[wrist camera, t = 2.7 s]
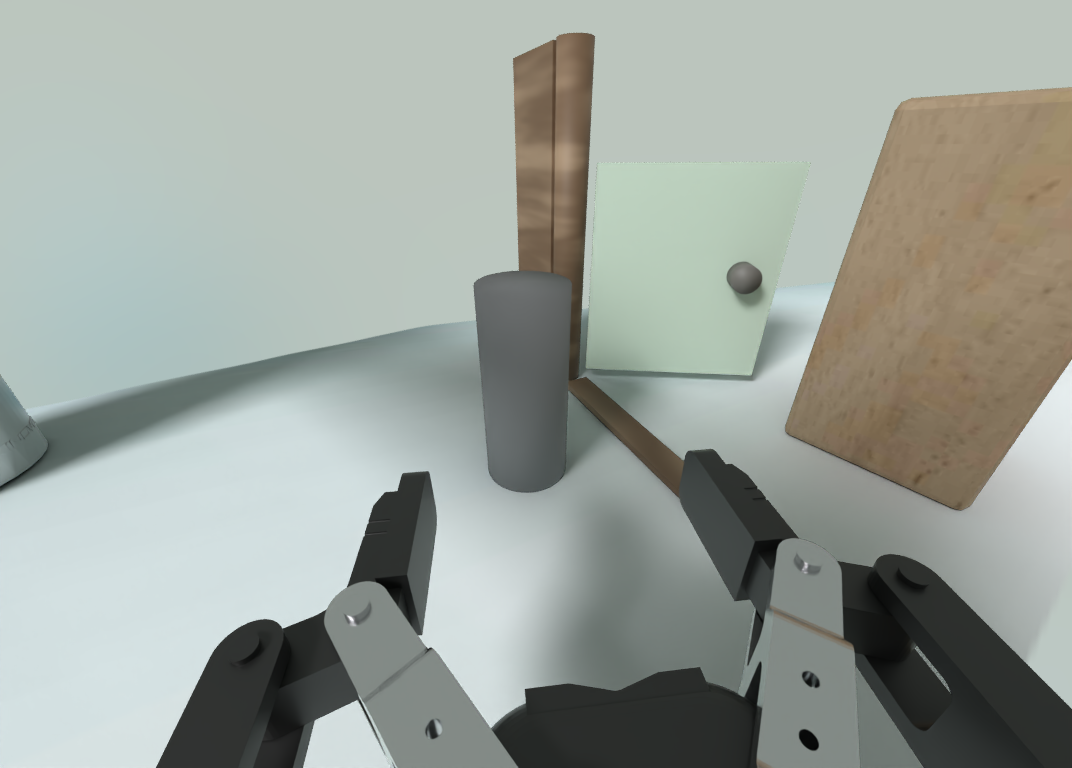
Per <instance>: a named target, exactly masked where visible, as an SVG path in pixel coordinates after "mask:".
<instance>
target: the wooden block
mask: <svg viewBox="0 0 1072 768" xmlns="http://www.w3.org/2000/svg"><path fill="white" fill-rule="evenodd" d="M1071 360H1072V87H1069V88H1054V89H1040V90H1025V91H1009V92H995V93H981V94H965V95H950V96H935V97H921V98H911V99H908V100H906V101H903V102H901V104H900V105H899V106H898V108H897V109H896V110H895V112H894V115H893V118H892V121H891V124H890V127H889V130H888V133H887V135H886V138H885V141H884V144H883V147H882V150H881V153H880V155H879V158H878V161H877V164H876V167H875V170H874V173H873V176H872V179H871V181H870V184H869V187H868V190H867V193H866V196H865V199H864V201H863V204H862V207H861V210H860V213H859V216H858V219H857V221H856V225H855V227H854V230H853V233H852V236H851V239H850V242H849V245H848V247H847V250H846V253H845V256H844V259H843V262H842V265H841V268H840V271H839V273H838V276H837V279H836V282H835V285H834V288H833V290H832V293H831V296H830V299H829V302H828V305H827V308H826V311H825V313H824V316H823V319H822V322H821V325H820V328H819V331H818V334H817V336H816V339H815V342H814V345H813V348H812V351H811V354H810V357H809V359H808V362H807V365H806V368H805V371H804V374H803V377H802V379H801V382H800V385H799V388H798V391H797V394H796V397H795V400H794V402H793V405H792V408H791V411H790V414H789V417H788V420H787V423H786V426H785V431H786V432H787V433H788V434H789V435H791V436H794V437H796V438H798V439H800V440H803V441H805V442H807V443H809V444H811V445H814V446H816V447H818V448H820V449H822V450H825V451H827V452H829V453H831V454H834V455H836V456H838V457H840V458H842V459H845V460H847V461H849V462H851V463H854V464H856V465H858V466H860V467H862V468H865V469H867V470H869V471H871V472H873V473H876V474H878V475H880V476H882V477H885V478H887V479H889V480H891V481H893V482H896V483H898V484H900V485H902V486H904V487H907V488H909V489H911V490H913V491H916V492H918V493H920V494H922V495H924V496H927V497H929V498H931V499H933V500H936V501H938V502H940V503H942V504H944V505H947V506H949V507H951V508H953V509H957V510H963V509H965V508H968V507H970V506H971V504H972V503H973V501H974V500H975V498H976V497H977V496H978V494H979V493H980V491H981V490H982V488H983V487H984V485H985V484H986V483H987V481H988V480H989V478H990V477H991V475H992V474H993V472H994V471H995V470H996V468H997V467H998V465H999V464H1000V462H1001V461H1002V459H1003V458H1004V457H1005V455H1006V454H1007V452H1008V451H1009V449H1010V448H1011V446H1012V445H1013V444H1014V442H1015V441H1016V439H1017V438H1018V436H1019V435H1020V433H1021V432H1022V431H1023V429H1024V428H1025V426H1026V425H1027V423H1028V422H1029V420H1030V419H1031V418H1032V416H1033V415H1034V413H1035V412H1036V410H1037V409H1038V407H1039V406H1040V405H1041V403H1042V402H1043V400H1044V399H1045V397H1046V396H1047V394H1048V393H1049V392H1050V390H1051V389H1052V387H1053V386H1054V384H1055V383H1056V381H1057V380H1058V379H1059V377H1060V376H1061V374H1062V373H1063V371H1064V370H1065V368H1066V367H1067V366H1068V364H1069V363H1070V361H1071Z"/></svg>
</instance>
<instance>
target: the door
mask: <svg viewBox="0 0 1072 768" xmlns="http://www.w3.org/2000/svg"><path fill="white" fill-rule="evenodd" d="M810 164H811V163H810V162H712V163H711V162H698V163H697V162H696V163H695V162H693V163H597V174H596V191H595V209H594V210H595V211H594V227H593V244H592V261H591V279H590V296H589V314H588V331H587V349H586V369H607V370H631V371H655V372H679V373H703V374H727V375H752V372H753V368H754V365H755V361H756V358H757V354H758V350H759V347H760V343H761V340H762V336H763V332H764V329H765V325H766V322H767V318H768V315H769V311H770V307H771V304H772V300H773V297H774V293H775V290H776V286H777V282H778V278H779V275H780V272H781V267H782V264H783V261H784V257H785V254H786V250H787V247H788V243H789V239H790V236H791V232H792V229H793V225H794V221H795V218H796V214H797V211H798V207H799V203H800V200H801V196H802V192H803V189H804V186H805V182H806V178H807V175H808V171H809V167H810Z"/></svg>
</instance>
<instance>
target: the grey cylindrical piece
mask: <svg viewBox="0 0 1072 768" xmlns="http://www.w3.org/2000/svg"><path fill="white" fill-rule="evenodd" d="M571 293H572V282H571V281H570V280H569V279H568V278H566V277H564V276H561V275H558V274H554V273H549V272H542V271H509V272H501V273H495V274H491V275H487V276H484V277H482V278H480V279H478V280H477V281H476V282H475V283H474V296H475V309H476V321H477V333H478V346H479V358H480V370H481V382H482V394H483V407H484V419H485V431H486V443H487V455H488V468H489V473H490V476H491V477H492V479H493V480H494V481H495V482H496V483H497V484H498V485H500V486H502V487H503V488H506V489H508V490H511V491H516V492H536V491H541V490H544V489H547V488H549V487H551V486H553V485H554V484H556V483H557V482H558V481H559V480H560V479H561V478H562V476H563V474H564V472H565V464H566V436H567V407H568V379H569V350H570V322H571Z"/></svg>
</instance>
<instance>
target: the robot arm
mask: <svg viewBox="0 0 1072 768" xmlns="http://www.w3.org/2000/svg"><path fill="white" fill-rule="evenodd" d="M47 446H48V442H47V440H46V438H45V437H44V436H43V434H42V433H41V431H40V430H39V429H38V427H37V426H36V424H35V421H34V420H33V419H32V417H31V416H29V415H28V413H27V412H26V411H25V409H24V408H23V406H22V405H21V404H20V402H19V401H18V399H17V398H16V396H15V395H14V393H13V392H12V390H11V389H10V388H9V386H8V385H7V383H6V382H5V381H4V379H3V378H2V377H1V375H0V486H1V485H3V484H4V483H6V482H8V481H10V480H11V479H13V478H15V477H17V476H18V475H19V474H21V473H22V472H24V471H25V470H27V469H28V468H29V467H31V466H32V465H33V464H34V463H35V462H37V461H38V460H39V459H40V458H41V457H42V456H43V454H44V453H45V451H46V450H47ZM679 497H680V501H681V505H682V507H683V509H684V511H685V513H686V514H687V516H688V518H689V520H690V522H691V523H692V525H693V527H694V529H695V531H696V532H697V534H698V536H699V538H700V540H701V541H702V543H703V545H704V547H705V549H706V550H707V552H708V554H709V556H710V558H711V559H712V561H713V563H714V565H715V567H716V568H717V570H718V572H719V574H720V576H721V577H722V579H723V581H724V583H725V585H726V586H727V588H728V590H729V592H730V594H731V595H732V597H733V599H734V601H741V600H751V601H752V603H753V605H754V607H755V609H754V611H753V615H752V621H751V627H750V633H749V639H748V645H747V651H746V657H745V663H744V669H743V675H742V679H741V683H740V687H739V690H738V694H737V693H735V692H734V691H731V690H729V689H727V688H724V687H722V686H719V685H715V684H712V683H708V682H706V681H705V678H704V676H703V673H702V671H701V669H700V667H697V668H689V669H681V670H673V671H665V672H658V673H656V674H654V675H651V676H649V677H647V678H645V679H643V680H641V681H639V682H636V683H634V684H632V685H630V686H628V687H626V688H624V689H622V690H618V691H611V690H605V689H599V688H593V687H587V686H581V685H575V684H561V685H553V686H545V687H537V688H529V689H525V697H526V704H523V705H521V706H519V707H517V708H515V709H514V710H512V711H511V712H509V713H508V714H506V715H505V716H504V717H503V718H501V719H500V720H499V721H498V722H497V723H496V724H495V725H494V726H493V727H492V728H490V727H489V725H488V724H487V723H486V721H485V720H484V718H483V717H482V715H481V714H480V713H479V711H478V710H477V708H476V707H475V706H474V704H473V703H472V701H471V700H470V698H469V697H468V696H467V694H466V693H465V691H464V690H463V689H462V687H461V686H460V684H459V683H458V681H457V680H456V679H455V677H454V676H453V674H452V673H451V672H450V670H449V669H448V667H447V666H446V664H445V663H444V662H443V660H442V659H441V657H440V656H439V655H438V654H437V652H436V651H435V650H434V649H433V648H429V649H428V648H427V647H426V646H425V645H424V644H423V642H422V641H421V639H420V638H419V637H418V635H422V633H423V625H424V618H425V610H426V603H427V595H428V588H429V580H430V573H431V565H432V558H433V550H434V543H435V535H436V527H437V515H436V506H435V501H434V495H433V490H432V484H431V478H430V474H429V472H428V471H425V472H413V473H403V474H402V476H401V480H400V484H399V488H398V491H395V492H385V493H384V494H383V495H382V496H381V498H380V499H379V500H378V501H377V502H376V503H375V505H374V506H373V509H372V512H371V515H370V518H369V524H367V528H366V531H365V536H364V537H363V540H362V543H361V546H360V549H359V552H358V556H357V559H356V562H355V565H354V568H353V571H352V574H351V577H350V581H349V583H348V586H347V588H346V589H344V590H343V591H341V592H340V593H339V594H338V595H337V596H336V597H335V598H334V599H333V600H332V601H331V603H330V604H329V606H328V608H327V609H326V610H325V611H323V612H322V613H320V614H318V615H316V616H314V617H311V618H309V619H306V620H304V621H301V622H299V623H296V624H293V625H291V626H288V627H286V628H283V629H282V627H281V626H280V625H279V624H278V623H277V622H275V621H273V620H267V619H263V620H256V621H253V622H250V623H247V624H245V625H243V626H241V627H239V628H238V629H236V630H235V631H233V632H232V633H231V634H229V635H228V636H227V637H226V638H225V639H224V640H223V641H222V642H221V643H220V644H219V645H218V646H217V647H216V649H215V650H214V652H213V653H212V655H211V657H210V659H209V661H208V663H207V665H206V667H205V669H204V671H203V673H202V675H201V677H200V679H199V681H198V683H197V685H196V687H195V689H194V691H193V693H192V695H191V697H190V699H189V701H188V704H187V706H186V708H185V710H184V712H183V714H182V716H181V718H180V720H179V722H178V724H177V726H176V728H175V730H174V732H173V734H172V736H171V738H170V740H169V742H168V744H167V746H166V748H165V750H164V752H163V755H162V757H161V759H160V761H159V763H158V765H157V767H156V768H303V765H304V761H305V757H306V753H307V749H308V745H309V741H310V737H311V733H312V729H313V725H314V721H315V720H316V719H318V718H320V717H322V716H325V715H327V714H329V713H331V712H333V711H335V710H337V709H339V708H341V707H343V706H345V705H348V704H350V703H352V702H354V701H356V700H357V701H358V703H359V705H360V707H361V709H362V711H363V713H364V715H365V717H366V719H367V721H368V723H369V725H370V727H371V729H372V731H373V733H374V735H375V737H376V739H377V741H378V743H379V745H380V747H381V749H382V751H383V753H384V755H385V757H386V759H387V761H388V763H389V765H390V768H860V750H859V730H858V711H857V691H856V671H855V665H856V666H857V668H858V669H859V671H860V672H861V674H862V675H863V677H864V678H865V680H866V681H867V683H868V684H869V686H870V687H871V689H872V690H873V692H874V693H875V695H876V696H877V698H878V699H879V701H880V702H881V704H882V705H883V707H884V708H885V710H886V711H887V713H888V714H889V716H890V717H891V719H892V720H893V722H894V723H895V725H896V726H897V728H898V729H899V731H900V732H901V734H902V735H903V737H904V738H905V740H906V741H907V743H908V744H909V746H910V747H911V749H912V750H913V752H914V753H915V755H916V756H917V758H918V759H919V761H920V762H921V764H922V765H923V767H924V768H1072V709H1071V708H1070V707H1069V706H1068V705H1067V704H1066V703H1065V702H1064V701H1063V700H1062V699H1061V698H1060V697H1059V696H1058V695H1057V694H1056V693H1055V692H1054V691H1053V690H1052V689H1051V688H1050V687H1049V686H1048V685H1047V684H1046V683H1045V682H1044V681H1043V680H1042V679H1041V678H1040V677H1039V676H1038V675H1037V674H1036V673H1035V672H1034V671H1033V670H1032V669H1031V668H1030V667H1029V666H1028V665H1027V664H1026V663H1025V662H1024V661H1023V660H1022V659H1021V658H1020V657H1019V656H1018V655H1017V654H1016V653H1015V652H1014V651H1013V650H1012V649H1011V648H1010V647H1009V646H1008V645H1007V644H1006V643H1005V642H1004V641H1003V640H1002V639H1001V638H1000V637H999V636H998V635H997V634H996V633H995V632H994V631H993V630H992V629H991V628H990V627H989V626H988V625H987V624H986V623H985V622H984V621H983V620H982V619H981V618H980V617H979V616H978V615H977V614H976V613H975V612H974V611H973V610H972V609H971V608H970V607H969V606H968V605H967V604H966V603H965V602H964V601H963V600H962V599H961V598H960V597H959V596H958V595H957V594H956V593H955V592H954V591H953V590H952V589H951V588H950V587H949V586H948V585H947V584H946V583H945V582H944V581H943V580H942V579H941V578H940V577H939V576H938V575H937V574H936V573H935V572H933V571H932V570H931V569H929V568H928V567H926V566H925V565H923V564H921V563H919V562H917V561H915V560H913V559H910V558H907V557H904V556H900V555H894V554H888V555H883V556H881V557H879V558H878V559H877V561H876V562H875V564H874V566H873V567H868V566H862V565H856V564H850V563H845V562H839V561H837V560H836V559H835V558H834V557H833V556H832V555H831V554H830V553H829V552H828V551H826V550H825V549H824V548H822V547H821V546H819V545H817V544H815V543H813V542H810V541H807V540H803V539H799V538H798V537H797V535H796V534H795V533H794V532H793V530H792V529H791V528H790V527H789V525H788V524H787V523H786V522H785V521H784V519H783V518H782V517H781V516H780V514H779V513H778V512H777V511H776V510H775V508H774V507H773V506H772V505H771V503H770V502H769V501H768V500H766V497H765V496H764V495H763V494H762V492H761V491H760V490H758V489H757V486H756V485H755V484H754V482H753V481H752V480H751V479H750V478H749V476H748V475H747V474H746V473H744V472H743V471H741V470H740V469H738V468H737V467H735V466H734V465H733V464H725V463H724V461H723V460H722V459H721V458H720V456H719V455H718V454H717V452H716V451H715V450H713V449H706V450H693V451H688V452H687V453H686V455H685V460H684V465H683V470H682V476H681V481H680V486H679ZM916 646H918V647H919V649H920V650H921V651H922V652H923V654H924V655H925V656H926V657H927V658H928V660H929V661H930V662H931V663H932V665H933V666H934V667H935V668H936V670H937V671H938V672H939V673H940V674H941V676H942V677H943V678H944V680H945V681H946V683H947V685H948V687H949V689H950V692H951V694H950V692H949V691H948V690H947V689H946V687H945V686H944V685H943V684H942V682H941V681H940V680H939V679H938V677H937V676H936V675H935V674H934V672H933V671H932V670H931V669H930V667H929V666H928V665H927V664H926V662H925V661H924V660H923V659H922V657H921V656H920V655H919V654H918V653H917V651H916V650H915V649H914V648H915V647H916Z"/></svg>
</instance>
